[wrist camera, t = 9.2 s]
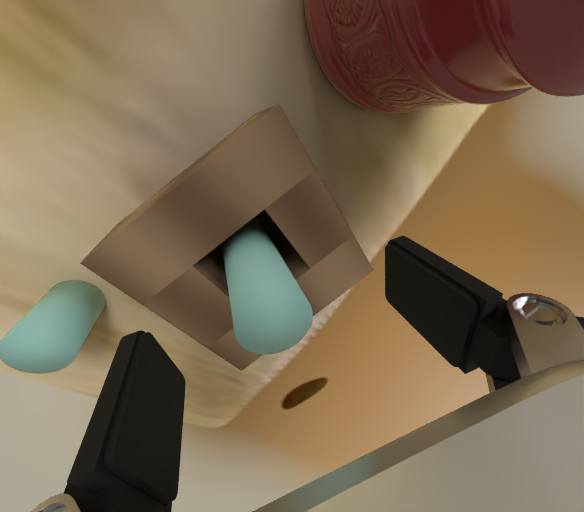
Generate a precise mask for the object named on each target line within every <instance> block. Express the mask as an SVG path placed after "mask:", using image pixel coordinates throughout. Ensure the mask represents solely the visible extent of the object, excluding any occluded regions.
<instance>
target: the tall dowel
mask: <svg viewBox="0 0 584 512" xmlns="http://www.w3.org/2000/svg"><path fill="white" fill-rule="evenodd" d="M222 250H223V257H224V264H225V271H226V278H227V285H228V292H229V299H230V306H231V312H232V319H233V326H234V333H235V337H236V340H237V341H238V343H239V344H240V345H241V346H242V347H243V348H244V349H246V350H248V351H250V352H252V353H256V354H273V353H278V352H281V351H284V350H286V349H288V348H290V347H292V346H293V345H295V344H296V343H297V342H299V341H300V340H301V339H302V338H303V337H304V335H305V334H306V333H307V331H308V330H309V328H310V326H311V323H312V318H313V312H312V308H311V305H310V303H309V301H308V300H307V298H306V296H305V295H304V293H303V292H302V290H301V288H300V287H299V285H298V283H297V282H296V280H295V278H294V277H293V275H292V273H291V272H290V270H289V269H288V267H287V265H286V264H285V262H284V260H283V259H282V257H281V255H280V254H279V252H278V251H277V249H276V247H275V246H274V244H273V242H272V241H271V239H270V237H269V236H268V234H267V232H266V231H265V229H264V228H263V226H262V224H261V223H260V221H259V220H258V219H257V218H256V217H254V218H253V219H251V220H250V221H249V222H248V223H246V224H245V225H244V226H242V227H241V228H240V229H239V230H237V231H236V232H235V233H234V234H232V235H231V236H230V237H228V238H227V239H226V240H225V241H223V242H222Z"/></svg>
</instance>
